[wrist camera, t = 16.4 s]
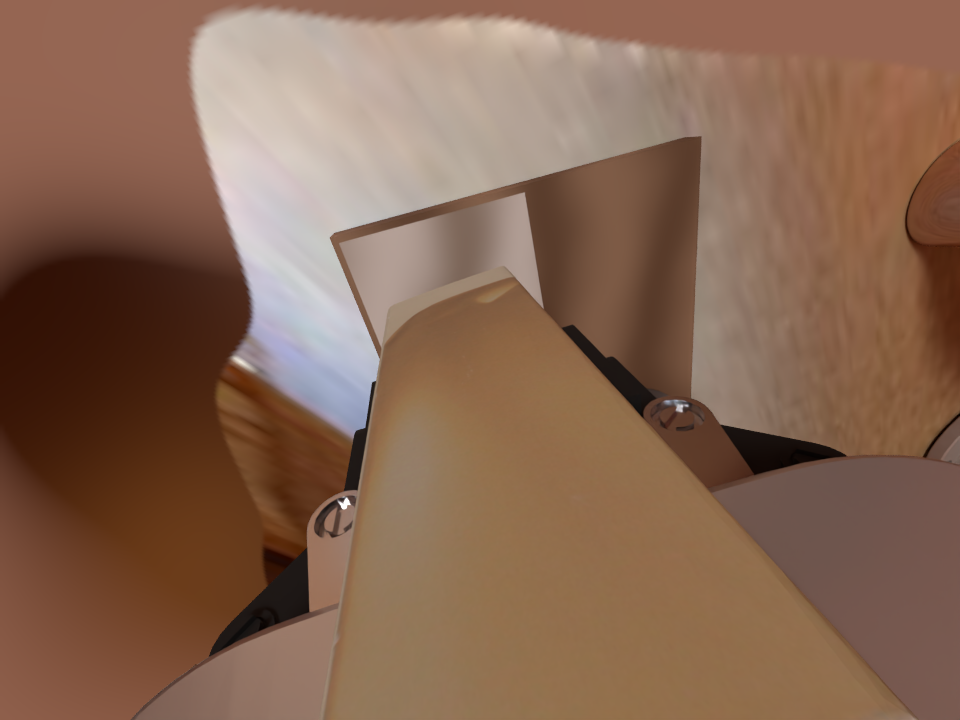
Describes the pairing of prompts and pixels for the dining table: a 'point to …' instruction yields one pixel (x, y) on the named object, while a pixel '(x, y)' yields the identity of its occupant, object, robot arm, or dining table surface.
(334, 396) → the dining table surface
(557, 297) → the board
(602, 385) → the skincare box
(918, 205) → the beer glass
